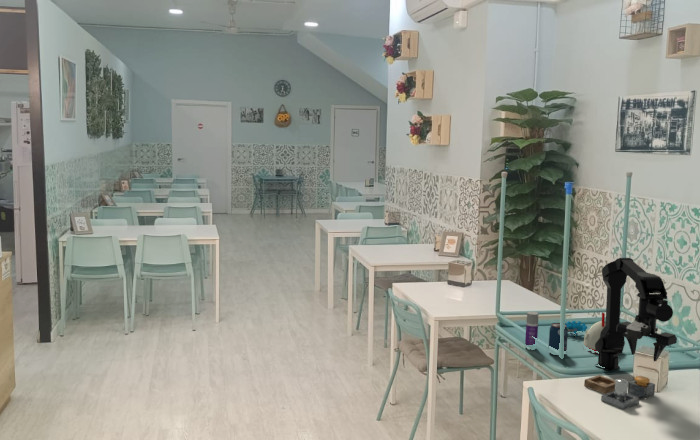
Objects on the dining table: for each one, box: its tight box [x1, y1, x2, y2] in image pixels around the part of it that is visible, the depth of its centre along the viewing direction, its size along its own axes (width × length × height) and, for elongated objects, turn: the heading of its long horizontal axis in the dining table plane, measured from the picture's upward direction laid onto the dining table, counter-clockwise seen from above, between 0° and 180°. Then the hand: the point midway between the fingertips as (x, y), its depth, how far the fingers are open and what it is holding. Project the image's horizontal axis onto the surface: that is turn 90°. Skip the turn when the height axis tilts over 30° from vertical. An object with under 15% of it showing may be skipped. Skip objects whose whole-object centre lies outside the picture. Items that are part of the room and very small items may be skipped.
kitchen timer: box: [583, 312, 606, 351], centre depth 273 cm, size 14×14×15 cm
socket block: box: [600, 379, 656, 410], centre depth 224 cm, size 8×19×4 cm, turn 125°
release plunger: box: [634, 375, 651, 386], centre depth 228 cm, size 5×5×5 cm
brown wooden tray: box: [583, 374, 615, 395], centre depth 234 cm, size 8×8×2 cm
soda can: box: [548, 322, 569, 351], centre depth 267 cm, size 7×7×12 cm
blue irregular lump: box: [565, 320, 588, 335], centre depth 290 cm, size 11×6×10 cm
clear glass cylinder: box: [614, 377, 629, 402], centre depth 221 cm, size 4×4×8 cm
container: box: [524, 311, 539, 345], centre depth 272 cm, size 5×5×15 cm
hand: (643, 357), depth 226 cm, fingers open, 8 cm apart
